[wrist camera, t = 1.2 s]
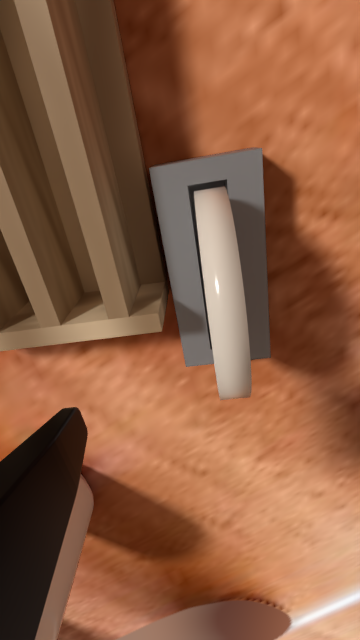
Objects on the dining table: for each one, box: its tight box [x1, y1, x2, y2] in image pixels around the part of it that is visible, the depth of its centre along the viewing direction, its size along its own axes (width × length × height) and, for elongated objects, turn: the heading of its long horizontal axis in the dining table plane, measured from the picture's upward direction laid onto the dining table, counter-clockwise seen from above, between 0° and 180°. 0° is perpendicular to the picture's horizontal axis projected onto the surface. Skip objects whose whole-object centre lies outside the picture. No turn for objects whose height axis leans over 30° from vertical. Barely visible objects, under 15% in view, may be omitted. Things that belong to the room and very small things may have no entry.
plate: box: [194, 186, 251, 400], centre depth 15 cm, size 1×9×9 cm, turn 10°
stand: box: [149, 147, 271, 367], centre depth 18 cm, size 5×11×2 cm, turn 9°
